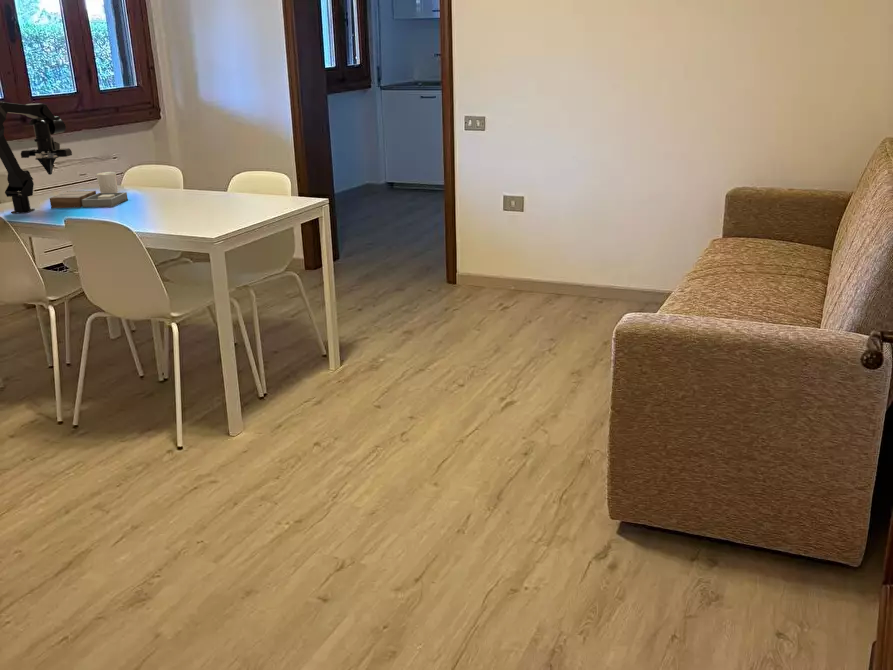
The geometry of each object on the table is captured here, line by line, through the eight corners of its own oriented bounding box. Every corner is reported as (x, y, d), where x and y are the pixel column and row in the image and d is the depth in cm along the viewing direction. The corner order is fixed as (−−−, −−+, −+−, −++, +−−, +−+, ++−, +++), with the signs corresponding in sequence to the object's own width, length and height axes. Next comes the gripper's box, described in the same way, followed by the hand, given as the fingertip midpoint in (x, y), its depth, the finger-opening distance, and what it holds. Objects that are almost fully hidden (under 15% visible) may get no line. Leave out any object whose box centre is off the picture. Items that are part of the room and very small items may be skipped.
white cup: (119, 197, 354) (115, 173, 351) (100, 199, 351) (96, 175, 348) (119, 194, 361) (115, 171, 358) (100, 196, 358) (96, 172, 355)
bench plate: (80, 207, 334) (78, 197, 332) (51, 207, 334) (49, 198, 333) (97, 200, 349) (95, 190, 347) (69, 200, 349) (67, 191, 348)
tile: (97, 196, 339) (98, 202, 340) (109, 196, 339) (110, 202, 339) (102, 194, 343) (103, 200, 344) (114, 194, 343) (115, 200, 344)
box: (112, 206, 333) (111, 199, 332) (82, 207, 334) (81, 199, 333) (127, 199, 348) (126, 192, 347) (99, 200, 349) (98, 192, 348)
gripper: (74, 132, 342) (81, 171, 347) (30, 134, 342) (37, 172, 348) (62, 135, 331) (69, 175, 336) (16, 137, 332) (24, 176, 337)
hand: (50, 174), depth 340 cm, fingers closed
